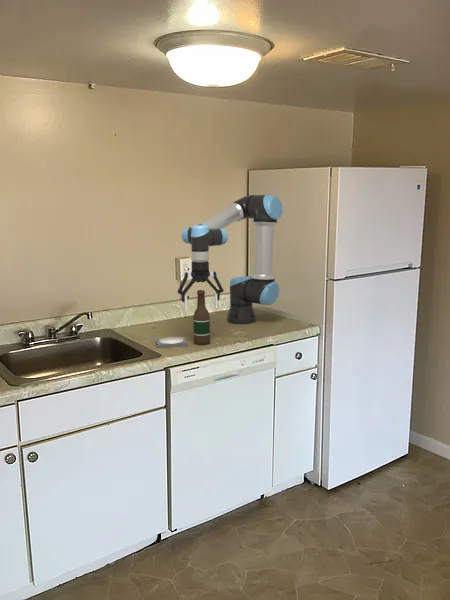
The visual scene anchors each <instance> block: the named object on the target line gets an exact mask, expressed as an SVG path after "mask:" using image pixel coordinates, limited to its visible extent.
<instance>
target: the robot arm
mask: <svg viewBox="0 0 450 600" xmlns="http://www.w3.org/2000/svg"><path fill="white" fill-rule="evenodd" d="M282 215H283V204H282V201H281V199H280V198H279V197H278V196H276V195H275V194H250V195H246V196H243V197H241V198H239V199H237V200H234V201H233V202H231V203H230V204H229V205H227V208H225V209H223V210H222V211H220V212H217V213H216V214H214V215H212V216H211V217H209V218H208V219H205V220H204V221H202V222H200V223H199V224H195V225H192V226H191V227H185V228H184V229H183V230H182V231H181V240H182V241H183V242H184V243H185V244H188V245H191V260H192V261H191V272H187V271H185V272H184V274H183V275H184V276H183V279H182V280H181V283H180V285H179V287H178V289H177V291H176V292H177V294H179V295H181V302H182V303H184V304H183V306H184V310H185V311H187V310H188V306H187V305H188V304H187V303H188V302H187V300H188V298H187V296H188V295H187V293H188V291H189V290H190V289H191V287H192V286H193V285H194V284H195V283H205V282H206V283H208V284H209V286H210V287H211V288H212V289H213V290H214V291H215V292H214V308H215V309H218V302H219V301H220V298H221V297H220V296H221V295H220V294H221V293H223V292H224V291H225V290H224V288H223V286H222V284H221V282H220V281H219V279H218V276H217V272H216V271H215V270H213V271H210V263H209V260H210V257H209V255H210V254H209V253H210V252H209V251H210V250H209V249H210V247H215V246H217V247H218V246H222V245H225V244H226V243H227V242H228V240H229V233H228V231H227V230H226V229H224V228H226V227H228V226H230V225H231V224H233V223H235V222H240V221H242V220H246V219H251V220H252V221H253V224H254V225H255V226H256V229H255V257H254V274H253V275H252V276H250V275H247V276H237V277H233V278H231V279H230V281H229V305H230V306H229V310H228V313H227V315H226V322H228V323H231V324H237V325H239V324H241V325H244V324H251V323H255V322H256V321H257V315H256V312H255V309H254V307H253V304H258V305H263V306H271V305H272V304H273V305H274V303H276V300H277V299H278V297H279V295H280V286H279V284H278V283H277V282H275V281H276V279H275V277H274V275H273V254H274V253H273V252H274V231H275V230H274V229H275V225H277V224H278V220H279V219H280V218H281V217H282ZM190 277H191V280H190V281H189V282H188V284H187V285H186V283H187V280H188V278H190ZM210 277H212V278H213V279H214V282H215V283H216V285H217V287H218V288H217V287H216V286H215V285H214V284H213V282H212V281H211V280H210V279H209V278H210ZM185 285H186V286H185Z"/></svg>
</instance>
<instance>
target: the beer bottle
mask: <svg viewBox="0 0 450 600" xmlns="http://www.w3.org/2000/svg"><path fill="white" fill-rule="evenodd" d="M196 294H197V300H196V301H197V302H196V304H197V305H196V309H195V310H194V313H193V326H192V327H193V344H194V345H197V346H206V345H210V343H211V323H210V322H211V320H210V319H211V318H210V317H211V316H210V313H209V311H208V309H207V307H206V298H205V297H206V296H205V294H206V292H205V290H204V289H199V290H197V291H196Z"/></svg>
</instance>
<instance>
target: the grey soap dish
mask: <svg viewBox="0 0 450 600" xmlns="http://www.w3.org/2000/svg"><path fill="white" fill-rule="evenodd" d="M155 343H156V347H157V348H158V349H163V348H177V347H188V341H187V340H186V337H185V336H167V337H156V338H155Z"/></svg>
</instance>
